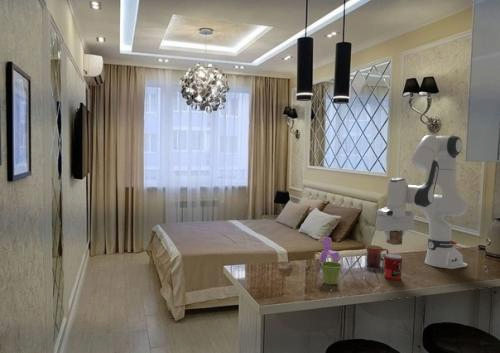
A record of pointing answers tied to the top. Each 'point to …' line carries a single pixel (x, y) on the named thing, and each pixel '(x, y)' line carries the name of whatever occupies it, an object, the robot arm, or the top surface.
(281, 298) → the top surface
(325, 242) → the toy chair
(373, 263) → the mug
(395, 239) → the walnut block
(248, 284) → the top surface
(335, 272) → the plant pot
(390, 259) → the canned food
